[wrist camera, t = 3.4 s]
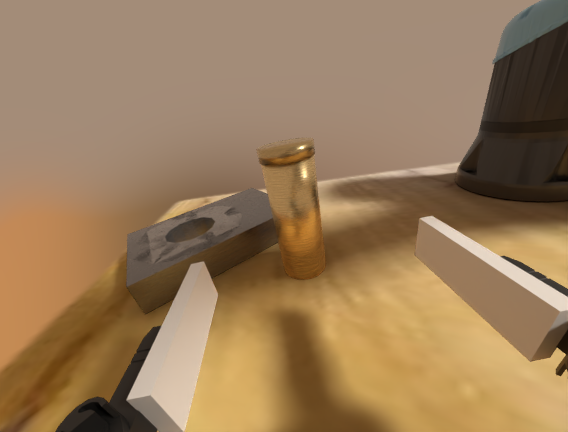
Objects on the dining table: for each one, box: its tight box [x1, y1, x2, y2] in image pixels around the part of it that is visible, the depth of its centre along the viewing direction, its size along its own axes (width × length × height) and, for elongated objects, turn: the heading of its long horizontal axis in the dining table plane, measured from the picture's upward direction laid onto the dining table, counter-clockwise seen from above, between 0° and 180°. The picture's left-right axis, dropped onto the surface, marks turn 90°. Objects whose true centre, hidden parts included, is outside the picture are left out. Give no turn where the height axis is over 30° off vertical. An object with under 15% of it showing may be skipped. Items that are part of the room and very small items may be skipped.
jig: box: [126, 188, 278, 314], centre depth 32 cm, size 22×15×4 cm
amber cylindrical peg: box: [256, 138, 326, 280], centre depth 22 cm, size 5×5×14 cm
